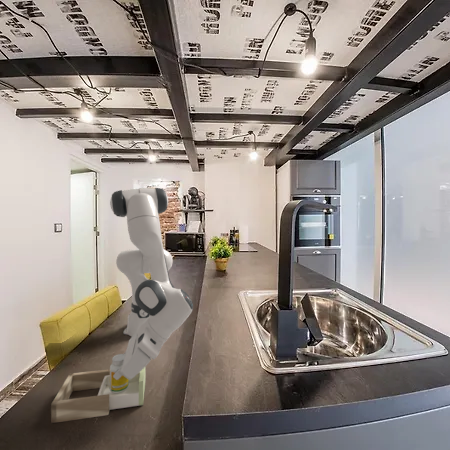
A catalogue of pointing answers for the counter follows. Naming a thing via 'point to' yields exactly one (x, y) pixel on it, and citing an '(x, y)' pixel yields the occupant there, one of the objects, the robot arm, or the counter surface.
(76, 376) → the tray frame
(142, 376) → the tray
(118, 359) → the supplement bottle
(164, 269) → the robot arm
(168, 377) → the counter surface
